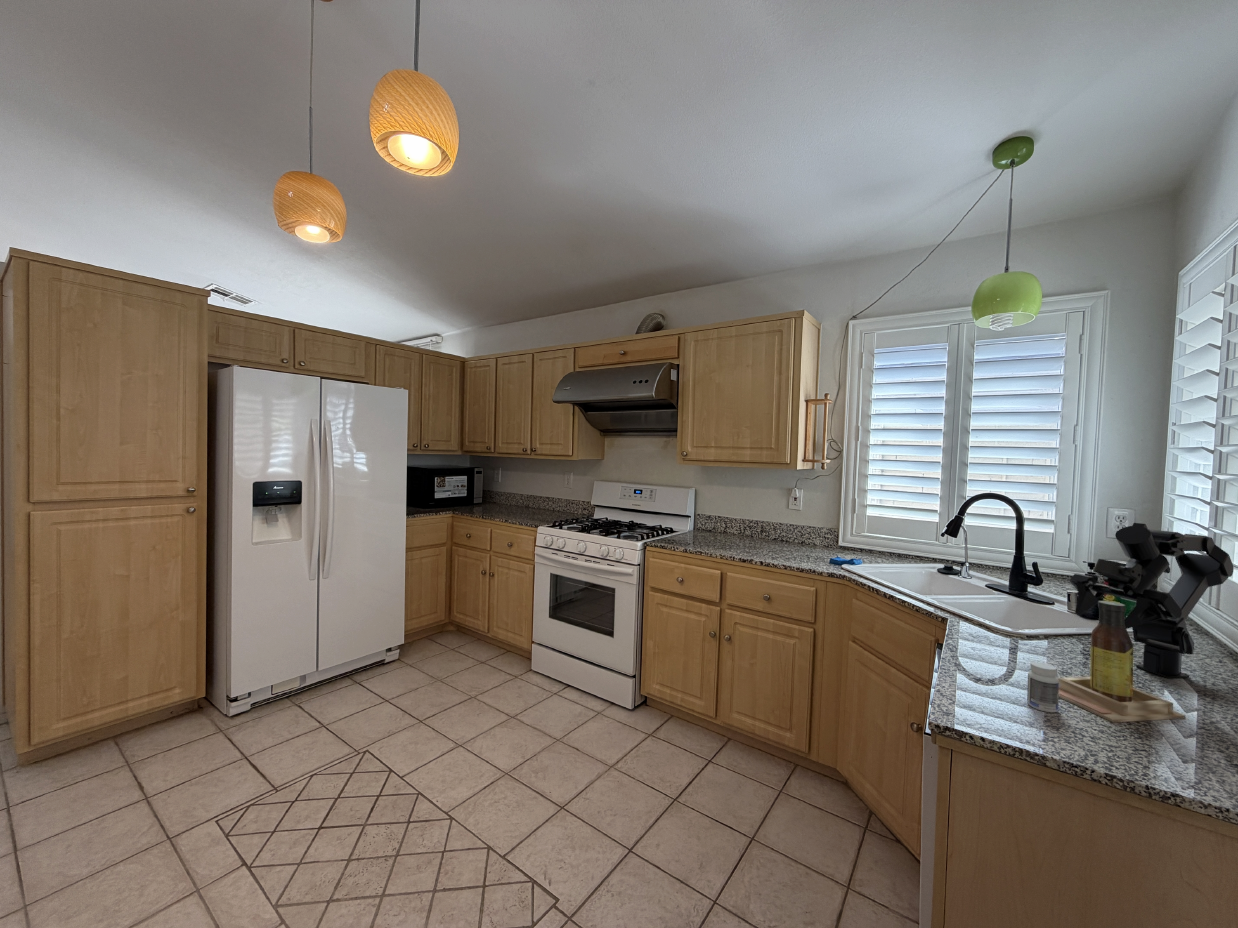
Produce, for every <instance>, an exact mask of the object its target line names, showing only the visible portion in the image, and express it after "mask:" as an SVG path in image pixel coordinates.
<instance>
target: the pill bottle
mask: <svg viewBox="0 0 1238 928" xmlns="http://www.w3.org/2000/svg"><path fill="white" fill-rule="evenodd" d="M1029 666H1030V671H1028V672H1027V688H1026V689H1027V690H1026V693H1027V695H1026V700H1027V701H1026V702H1027V704H1028V705H1029V706H1030V707H1031V708H1034V709H1036V710H1039V711H1042V712H1047V713H1057V712H1058V711H1059V700H1060V699H1059V698H1060V697H1059V680H1058V678H1059V677H1057V675H1058V668H1057V667H1056V666H1055V665H1052V664H1050V663H1045V662H1042V661H1040V662H1039V661H1031V662H1030V665H1029Z"/></svg>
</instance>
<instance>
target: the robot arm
mask: <svg viewBox="0 0 1238 928" xmlns="http://www.w3.org/2000/svg"><path fill="white" fill-rule="evenodd" d="M1114 535H1115V539H1116V541H1117V542H1118V544H1119V546H1120V548H1121V550H1122V552H1123V554H1124V555H1125V557H1127V558H1129V560H1128V561H1126V563H1124V562H1119V561H1114V560H1109V559H1104V558H1098V559H1097V561H1096V563H1095V566H1094V568H1093V572H1094V573H1098V574H1100V575H1101V576H1103V577H1102V580H1103V581H1104V583H1108V584H1107V585H1106V584H1102V583H1100V582H1098V580H1097V579H1096V578H1095V576H1091V575H1090V576H1089V575H1085V574H1080V573H1075V574H1073V575H1072V576H1071V578H1070V579H1068V580H1069V582H1070V583H1071V584H1072V586H1073V587H1074V589H1076V591H1077V592H1078V595H1077V596H1078V597H1077V603H1076V605H1075V606H1076V607H1075V610H1074V611H1075V614H1076V615H1077V617H1080V616H1082V615H1083V614H1085V613H1086V612H1088V611H1089V610H1090V609H1091V608H1093V607H1095V606H1096V605H1098V601H1100V600H1099V599H1102V598H1103V596H1104V595H1107V596H1112V597H1116V598H1120V599H1122V600H1126V601H1130V602H1135V606H1134V607H1133V609H1132V610H1131V611H1130V612H1129V614H1127V615H1126V617H1125V618H1124V621H1125V622H1124V623H1125V627H1126V629H1127V630H1128V629H1130V628H1131V630H1132V635H1133V640H1134V642H1136V643H1141V644H1144V645H1143V646H1144V647H1143V652H1142V653H1143V656H1142V657H1143V658H1142V663H1141V664H1140V663H1139V664H1135V667H1136V668H1138V669H1141V670H1143V671H1146V672H1150V673H1153V674H1156V675H1159V676H1161V677H1164V678H1167V679H1179V678H1182V679H1183V678H1190V674H1188V673H1184V672H1182V662H1183V661H1182V658H1183V656H1182V655H1194V650H1195V641H1194V639H1193V638H1192V636H1191V634H1190V631H1189V630H1188V627H1187V624H1186V619H1187V618H1188V617H1189V615H1190V614H1191V612H1192V611H1193V609H1194V608H1195V606H1196V605H1197V603H1198V602H1199V601H1200V599H1201V598H1202V597H1203V595H1204V594H1205V592H1206V591H1207V590H1208V588H1210V587H1216V586H1219V585H1223V584H1224V583H1225V582H1226V581H1227V580H1228V579H1229V578H1231V577H1232V576H1233V574H1234V571H1235V570H1234V565H1233V564H1234V563H1233V562H1232V559H1231V556H1230V554H1229V553H1228V552H1227V551H1225V550H1223V549H1222V548H1221V547H1219V546H1218V545H1216V544H1215V542H1214V539H1213V538H1212V537H1211V536H1210V537H1209V536H1208V535H1202V534H1201V535H1199V534H1191V533H1185V534H1183V533H1180V532H1178V531H1169V530H1159V529H1150V528H1148V526H1147V524H1146V523H1141V522H1133V523H1132V524H1131V525H1129V526H1125V527H1122V528H1120V529H1119V530H1117V531H1116V532H1115V534H1114ZM1191 552H1203V553H1206V554H1198V553H1191ZM1166 556H1167V557H1175V561H1176V563H1177V566H1178V568H1179V571H1180V577H1179V578H1178V579H1177V580H1176V581H1175V583H1174V584H1173V586H1172V587H1171V589H1170V590H1169V591H1168V592H1164V591H1160V590H1156V589H1157V588H1158V585H1157V584H1156V581H1157V580H1158V579H1159V578H1160V577H1161V576H1162V575H1163V573H1164V574H1170V573H1171V567H1170V562H1169V560H1168V558H1167V557H1166Z"/></svg>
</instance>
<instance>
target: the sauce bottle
mask: <svg viewBox="0 0 1238 928" xmlns="http://www.w3.org/2000/svg"><path fill="white" fill-rule="evenodd" d="M1097 607H1098V614H1099V615H1098V617H1099V618H1098V623H1097V625H1096V626H1095V627H1094V628H1093V629H1092V631H1091V633H1090V634H1091V643H1090V674H1089V675H1090V676H1089V677H1090V686H1091V687H1092V688H1091V690H1093V691H1095V692H1097V693H1100V694H1102V695H1104V696H1107V697H1109V698H1111V699H1114V700H1116V701H1119V702H1132V696H1133V688H1134V644H1133V642H1132V639H1131V636H1130V635H1129V632H1128V629H1126V627H1125V623H1124V622H1125V621H1124V619H1125V618H1126V617H1125V614H1126V612H1127V609H1126V608H1127V607H1126V604H1123V603H1119V602H1116V601H1111V600H1099V601H1098V603H1097Z"/></svg>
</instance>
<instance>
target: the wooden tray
mask: <svg viewBox="0 0 1238 928" xmlns="http://www.w3.org/2000/svg"><path fill="white" fill-rule="evenodd" d="M1057 678H1058V680H1059V698H1060V699H1061V700H1064V701H1066V702H1068V703H1070V704H1073V705H1075V706H1077V707H1079V708H1081V709H1084V710H1086V711H1088V712H1090V713H1092V714H1094V715H1096V716H1098V717H1101V718H1103V719H1105V720H1106V721H1110V722H1111V723H1125V722H1128V723H1129V722H1142V721H1143V722H1145V721H1158V720H1175V719H1177V720H1178V719H1186V714H1183V713H1180V712H1177V711H1175V710H1174V702H1171V701H1169V700H1167V699H1163V698H1161V697H1159V696H1156V695H1154V694H1151V693H1148V692H1145V691H1143V690H1141V689H1138V688H1135V687H1133V696H1132V702H1119V701H1116V700H1114V699H1111V698H1109V697H1107V696H1104V695H1102V694H1100V693H1097V692H1095V691H1093V690H1091V688H1092V687H1091V686H1090V676H1068V677H1057Z"/></svg>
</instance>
